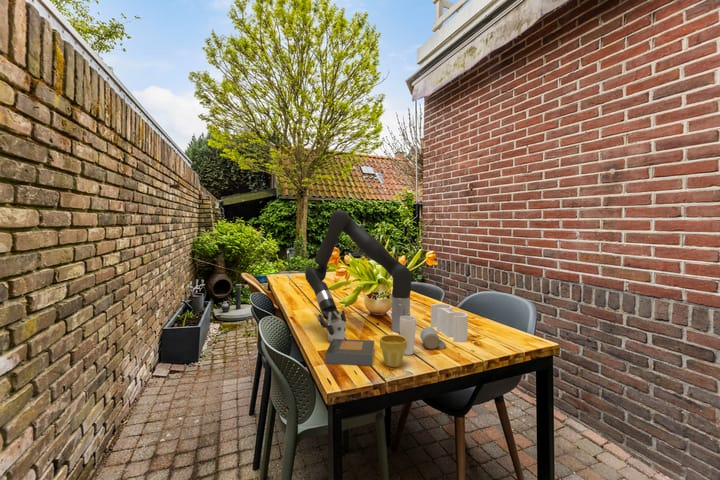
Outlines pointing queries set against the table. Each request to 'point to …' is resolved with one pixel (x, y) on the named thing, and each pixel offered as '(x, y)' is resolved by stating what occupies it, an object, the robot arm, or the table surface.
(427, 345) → the ceramic mug
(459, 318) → the bracket
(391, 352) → the plant pot
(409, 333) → the white tube
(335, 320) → the aluminium block
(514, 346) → the table surface
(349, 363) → the steel plate
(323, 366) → the table surface
